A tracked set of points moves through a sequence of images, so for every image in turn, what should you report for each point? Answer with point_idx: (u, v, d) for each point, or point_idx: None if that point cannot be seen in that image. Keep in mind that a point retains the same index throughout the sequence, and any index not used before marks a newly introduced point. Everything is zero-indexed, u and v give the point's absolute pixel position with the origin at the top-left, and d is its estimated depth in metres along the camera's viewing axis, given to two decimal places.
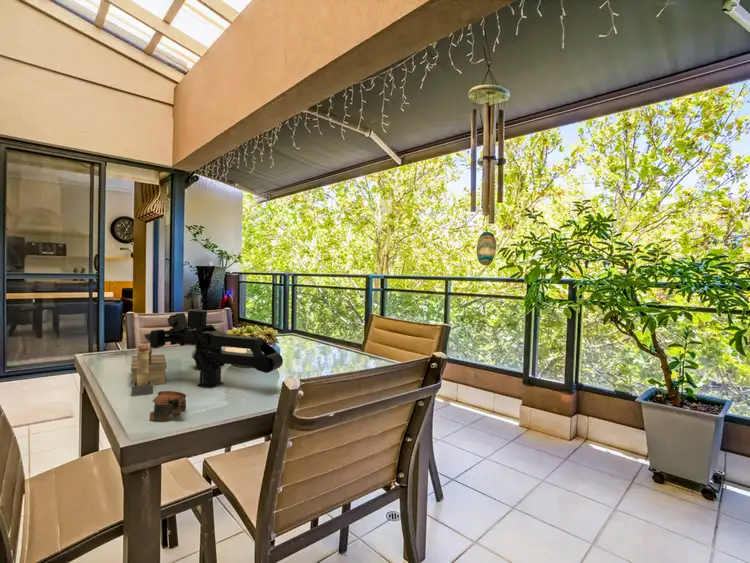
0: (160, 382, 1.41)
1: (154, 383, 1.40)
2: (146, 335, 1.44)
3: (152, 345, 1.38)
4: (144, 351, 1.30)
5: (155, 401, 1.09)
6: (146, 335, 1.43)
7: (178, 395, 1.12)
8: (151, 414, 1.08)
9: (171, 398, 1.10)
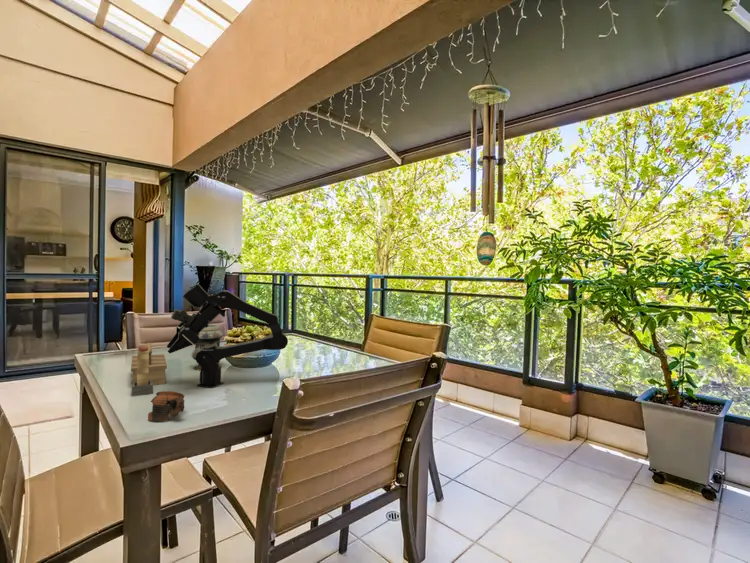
0: (160, 382, 1.41)
1: (154, 383, 1.40)
2: (171, 349, 1.31)
3: (194, 340, 1.31)
4: (144, 351, 1.30)
5: (153, 401, 1.09)
6: (171, 349, 1.31)
7: (176, 396, 1.12)
8: (149, 414, 1.08)
9: (169, 398, 1.10)
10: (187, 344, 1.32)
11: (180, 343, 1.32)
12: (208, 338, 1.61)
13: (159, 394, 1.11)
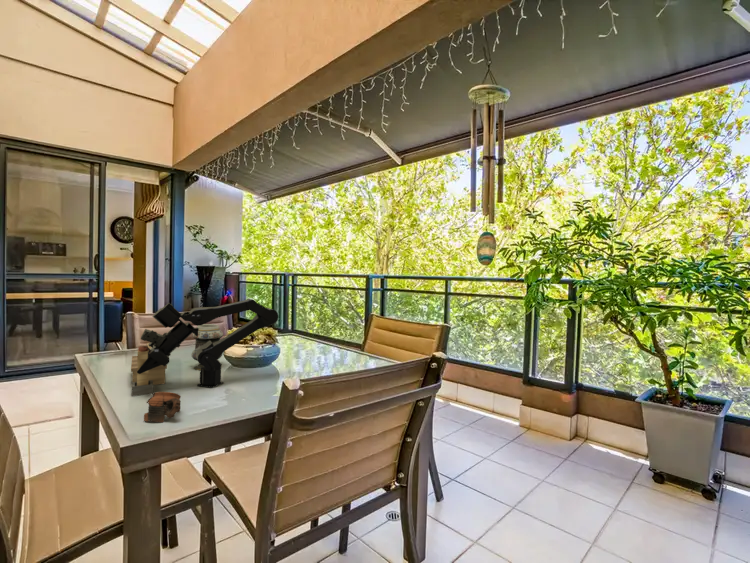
0: (160, 382, 1.41)
1: (154, 383, 1.40)
2: (140, 369, 1.29)
3: (164, 362, 1.26)
4: (144, 351, 1.30)
5: (149, 402, 1.08)
6: (141, 369, 1.29)
7: (173, 396, 1.11)
8: (145, 415, 1.07)
9: (165, 398, 1.09)
10: (157, 364, 1.30)
11: (150, 363, 1.30)
12: (208, 338, 1.61)
13: (155, 395, 1.10)
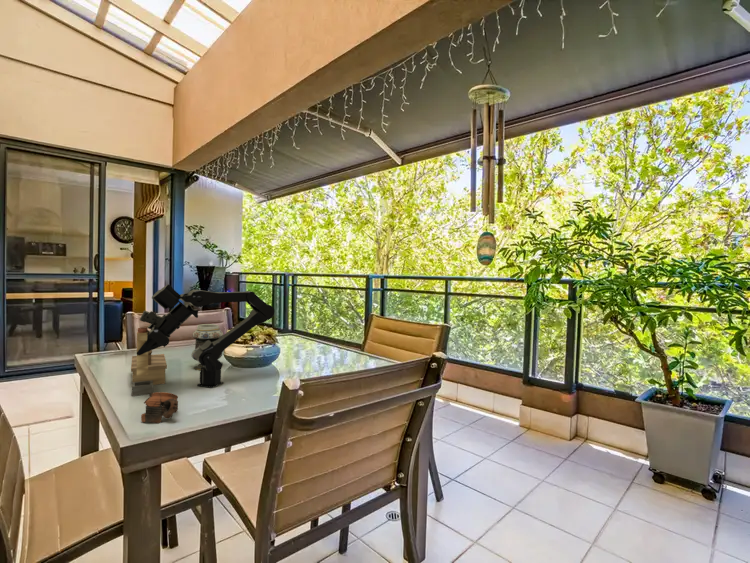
0: (160, 382, 1.41)
1: (154, 383, 1.40)
2: (140, 351, 1.28)
3: (164, 343, 1.25)
4: (143, 332, 1.29)
5: (146, 403, 1.08)
6: (140, 350, 1.28)
7: (170, 397, 1.11)
8: (142, 416, 1.07)
9: (162, 399, 1.09)
10: (156, 345, 1.29)
11: (149, 344, 1.28)
12: (208, 338, 1.61)
13: (152, 395, 1.10)
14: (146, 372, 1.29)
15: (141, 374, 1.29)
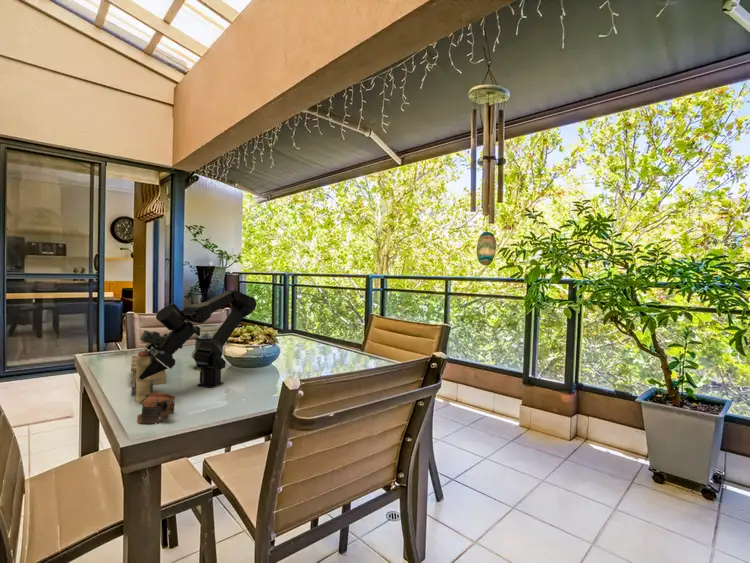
0: (160, 382, 1.41)
1: (154, 383, 1.40)
2: (143, 375, 1.19)
3: (171, 364, 1.20)
4: (145, 356, 1.23)
5: (143, 403, 1.07)
6: (143, 374, 1.19)
7: (167, 397, 1.10)
8: (139, 417, 1.06)
9: (159, 400, 1.08)
10: (161, 368, 1.21)
11: (153, 368, 1.20)
12: (208, 338, 1.61)
13: (149, 396, 1.09)
14: None
15: (142, 400, 1.22)
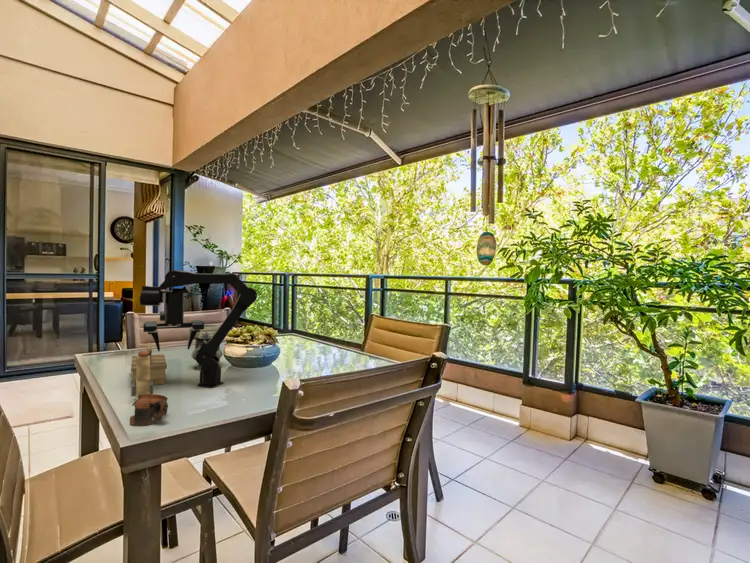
0: (160, 382, 1.41)
1: (154, 383, 1.40)
2: (157, 347, 1.36)
3: (143, 328, 1.31)
4: (145, 356, 1.23)
5: (135, 405, 1.06)
6: None
7: (160, 399, 1.09)
8: (131, 418, 1.05)
9: (152, 401, 1.07)
10: None
11: None
12: (208, 338, 1.61)
13: (141, 397, 1.08)
14: None
15: None
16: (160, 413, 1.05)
